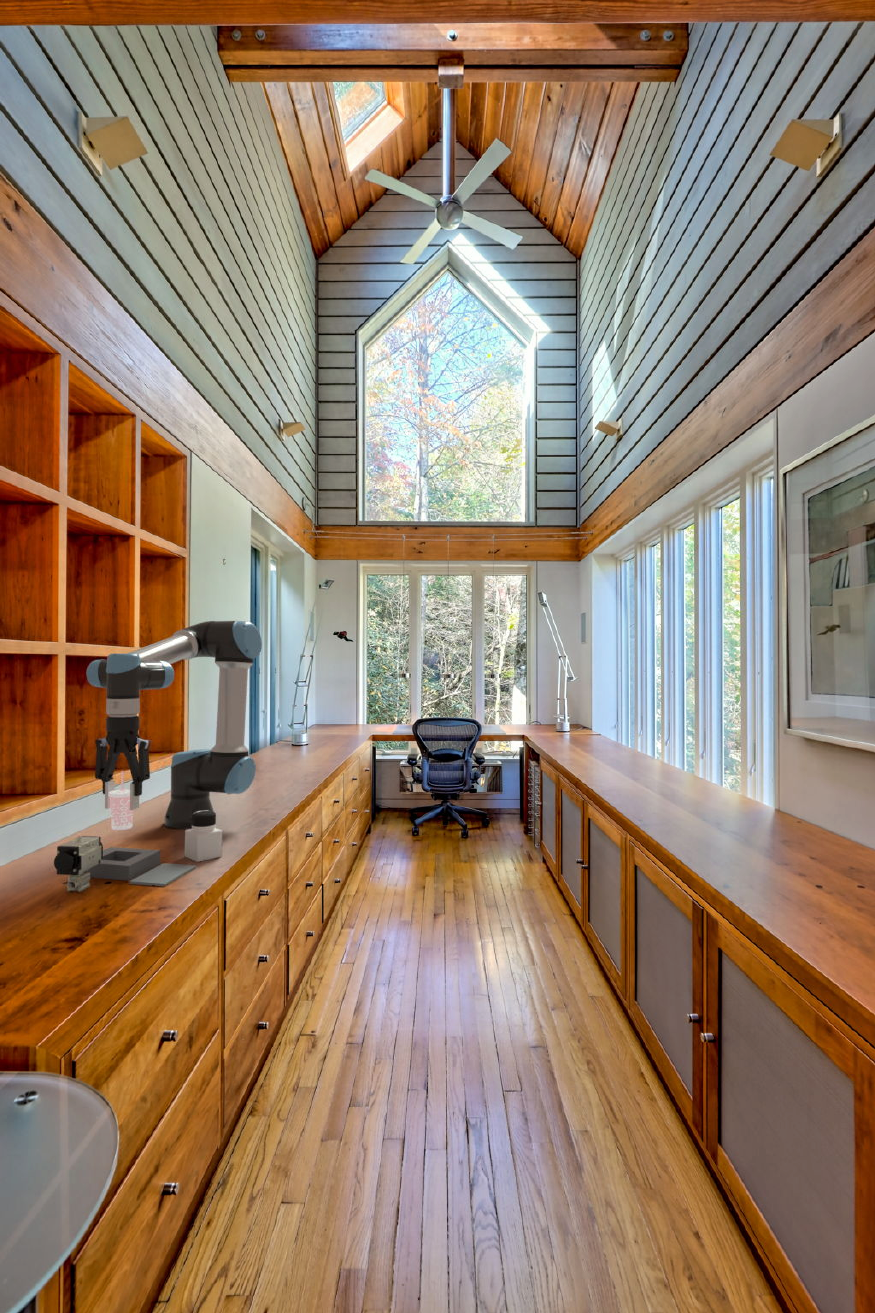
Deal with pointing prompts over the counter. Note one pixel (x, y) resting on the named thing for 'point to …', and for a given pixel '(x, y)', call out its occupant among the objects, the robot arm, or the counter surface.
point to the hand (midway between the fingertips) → (122, 807)
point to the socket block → (124, 863)
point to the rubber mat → (163, 874)
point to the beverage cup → (121, 808)
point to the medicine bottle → (203, 837)
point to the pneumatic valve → (78, 860)
